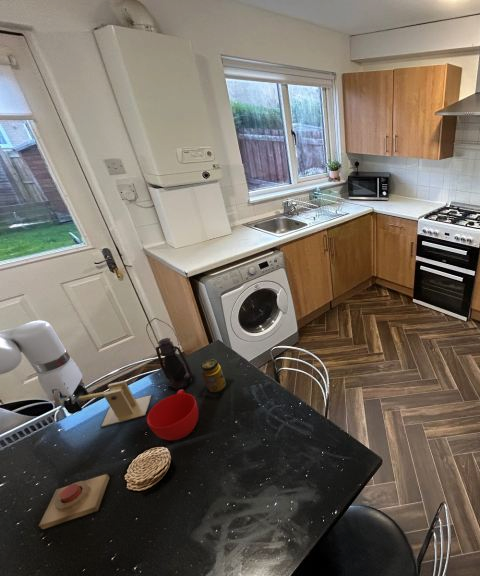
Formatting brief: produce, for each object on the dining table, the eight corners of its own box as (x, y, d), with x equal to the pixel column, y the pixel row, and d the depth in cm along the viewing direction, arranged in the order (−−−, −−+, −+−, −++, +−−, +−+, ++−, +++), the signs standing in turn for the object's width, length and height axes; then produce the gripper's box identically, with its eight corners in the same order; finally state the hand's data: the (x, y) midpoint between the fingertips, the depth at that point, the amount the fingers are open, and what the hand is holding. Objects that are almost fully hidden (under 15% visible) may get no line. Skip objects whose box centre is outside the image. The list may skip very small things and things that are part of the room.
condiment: (231, 382, 118) (223, 358, 112) (217, 399, 111) (208, 375, 105) (214, 379, 119) (206, 355, 113) (199, 396, 112) (189, 372, 106)
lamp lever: (72, 408, 96) (69, 402, 95) (79, 396, 100) (76, 391, 99) (120, 398, 100) (118, 393, 99) (125, 387, 104) (123, 382, 103)
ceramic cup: (209, 401, 110) (201, 380, 106) (200, 442, 96) (191, 421, 92) (167, 410, 107) (157, 389, 102) (152, 454, 93) (140, 433, 88)
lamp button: (60, 505, 78) (56, 501, 77) (66, 490, 80) (63, 487, 80) (78, 499, 79) (74, 495, 78) (83, 485, 82) (80, 481, 81)
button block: (43, 530, 76) (34, 522, 74) (60, 494, 83) (52, 485, 81) (98, 511, 80) (91, 503, 78) (110, 478, 87) (104, 469, 85)
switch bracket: (102, 428, 100) (85, 403, 95) (111, 407, 108) (96, 383, 102) (146, 416, 104) (132, 392, 99) (152, 397, 112) (139, 373, 106)
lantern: (172, 395, 113) (141, 328, 98) (167, 382, 118) (138, 317, 103) (196, 384, 117) (170, 319, 103) (191, 372, 123) (165, 309, 108)
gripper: (49, 346, 95) (76, 388, 104) (17, 384, 82) (51, 430, 90) (79, 340, 98) (103, 382, 107) (54, 377, 84) (84, 421, 93)
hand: (79, 404), depth 98 cm, fingers closed on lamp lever, 5 cm apart
